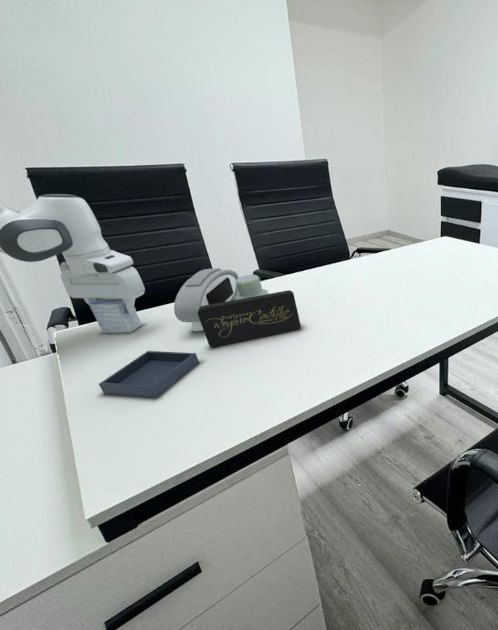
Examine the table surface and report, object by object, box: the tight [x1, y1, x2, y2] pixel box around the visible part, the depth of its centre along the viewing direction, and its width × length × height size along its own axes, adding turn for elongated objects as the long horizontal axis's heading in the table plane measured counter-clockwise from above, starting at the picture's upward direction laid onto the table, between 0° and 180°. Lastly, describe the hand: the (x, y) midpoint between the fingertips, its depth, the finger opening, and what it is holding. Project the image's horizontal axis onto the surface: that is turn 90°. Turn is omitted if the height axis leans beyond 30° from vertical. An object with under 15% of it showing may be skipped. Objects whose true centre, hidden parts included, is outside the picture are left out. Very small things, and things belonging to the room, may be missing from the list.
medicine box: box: [88, 298, 143, 334], centre depth 100 cm, size 8×4×9 cm, turn 84°
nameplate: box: [198, 289, 302, 348], centre depth 92 cm, size 21×2×10 cm, turn 110°
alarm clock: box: [173, 267, 240, 332], centre depth 103 cm, size 23×6×13 cm, turn 0°
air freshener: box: [235, 274, 270, 300], centre depth 104 cm, size 11×8×10 cm
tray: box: [98, 350, 200, 399], centre depth 80 cm, size 12×12×2 cm
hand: (116, 312), depth 100 cm, fingers open, 8 cm apart
